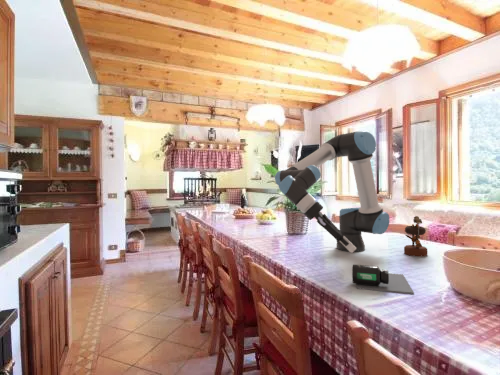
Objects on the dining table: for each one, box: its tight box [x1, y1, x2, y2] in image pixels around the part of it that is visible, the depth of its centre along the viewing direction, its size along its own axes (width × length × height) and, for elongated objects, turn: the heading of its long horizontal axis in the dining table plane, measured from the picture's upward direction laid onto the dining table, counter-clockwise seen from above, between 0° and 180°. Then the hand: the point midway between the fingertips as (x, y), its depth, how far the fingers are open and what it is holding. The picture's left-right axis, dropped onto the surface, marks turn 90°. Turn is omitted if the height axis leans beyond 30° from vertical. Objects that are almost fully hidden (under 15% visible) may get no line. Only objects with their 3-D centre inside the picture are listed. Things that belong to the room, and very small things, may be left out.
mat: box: [356, 272, 415, 295], centre depth 109 cm, size 18×20×1 cm
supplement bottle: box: [351, 264, 389, 286], centre depth 105 cm, size 7×7×12 cm
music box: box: [403, 215, 428, 258], centre depth 150 cm, size 15×11×20 cm
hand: (353, 250), depth 112 cm, fingers closed
